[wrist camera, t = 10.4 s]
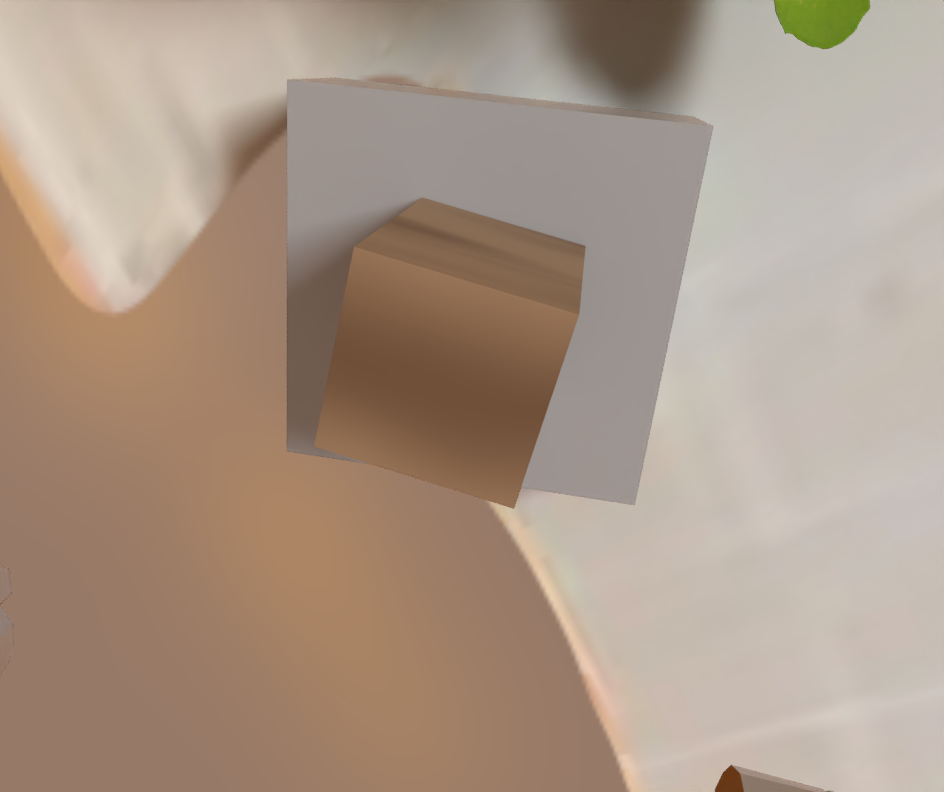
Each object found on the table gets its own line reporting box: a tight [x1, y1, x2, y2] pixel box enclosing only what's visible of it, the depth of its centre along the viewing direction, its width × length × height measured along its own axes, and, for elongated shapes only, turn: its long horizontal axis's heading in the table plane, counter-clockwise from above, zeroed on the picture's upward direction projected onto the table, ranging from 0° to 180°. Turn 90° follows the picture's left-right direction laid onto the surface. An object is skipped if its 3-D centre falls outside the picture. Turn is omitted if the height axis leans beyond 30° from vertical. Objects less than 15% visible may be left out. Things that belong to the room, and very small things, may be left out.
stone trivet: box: [287, 78, 713, 505], centre depth 26 cm, size 12×12×5 cm
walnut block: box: [314, 198, 586, 508], centre depth 21 cm, size 5×5×7 cm
